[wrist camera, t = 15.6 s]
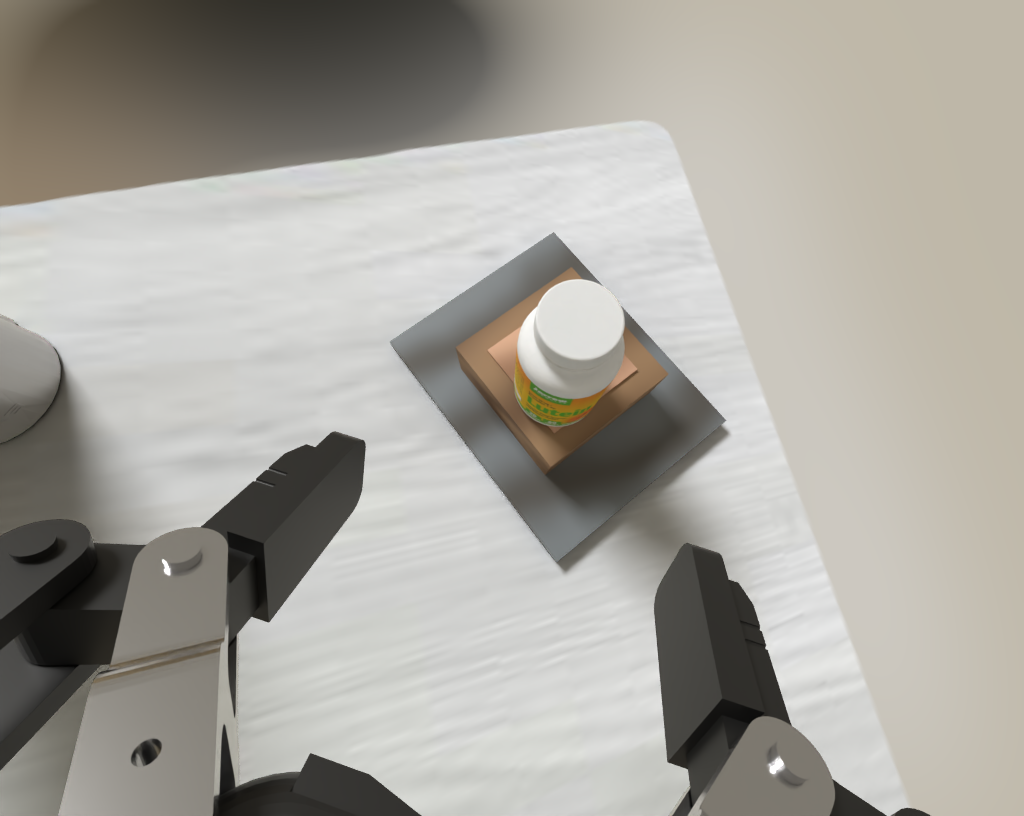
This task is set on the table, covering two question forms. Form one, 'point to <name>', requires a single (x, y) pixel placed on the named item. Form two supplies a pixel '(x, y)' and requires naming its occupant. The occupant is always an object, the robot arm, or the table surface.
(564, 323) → the supplement bottle
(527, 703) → the table surface
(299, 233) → the table surface
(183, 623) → the robot arm
